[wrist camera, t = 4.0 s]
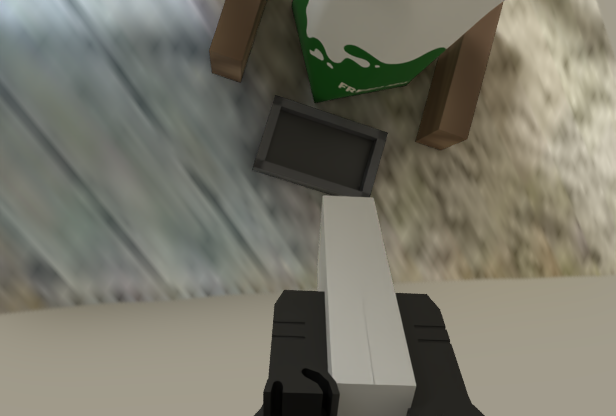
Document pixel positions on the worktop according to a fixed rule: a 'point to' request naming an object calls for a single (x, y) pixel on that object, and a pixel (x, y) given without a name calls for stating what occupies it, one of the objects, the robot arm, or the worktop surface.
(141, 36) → the worktop surface
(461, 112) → the channel
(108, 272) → the worktop surface
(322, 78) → the soya milk
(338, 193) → the pit tray
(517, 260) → the worktop surface
